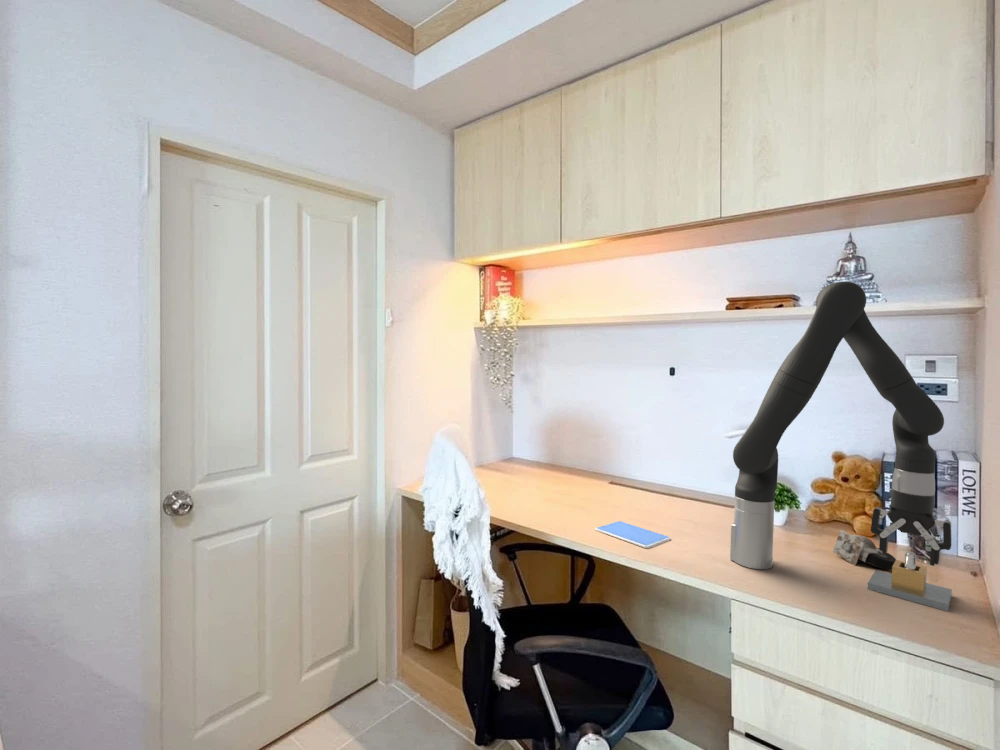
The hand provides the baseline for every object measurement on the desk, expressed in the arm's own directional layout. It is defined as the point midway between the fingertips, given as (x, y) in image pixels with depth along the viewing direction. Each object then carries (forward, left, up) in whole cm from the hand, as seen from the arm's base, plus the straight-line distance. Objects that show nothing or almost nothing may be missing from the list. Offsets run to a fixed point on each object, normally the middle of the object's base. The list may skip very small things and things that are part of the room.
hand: (908, 558), depth 115 cm
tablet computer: (-63, -14, -9) cm, 65 cm away
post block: (0, 0, -8) cm, 8 cm away
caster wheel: (-10, +13, -8) cm, 18 cm away
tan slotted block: (0, 0, -6) cm, 6 cm away
